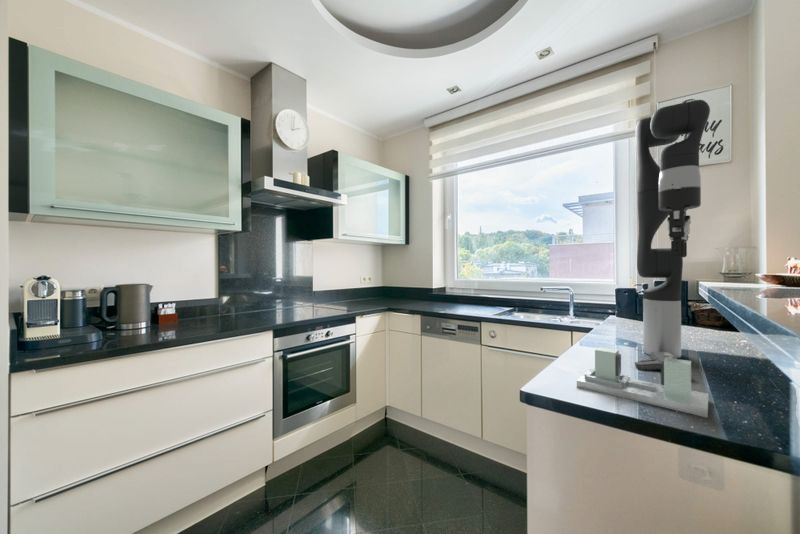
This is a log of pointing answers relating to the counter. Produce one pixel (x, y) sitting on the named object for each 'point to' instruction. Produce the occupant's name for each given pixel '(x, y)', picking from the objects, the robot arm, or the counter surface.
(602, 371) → the pale grey upright block
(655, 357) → the dark grey bracket
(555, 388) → the counter surface
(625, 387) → the rail
